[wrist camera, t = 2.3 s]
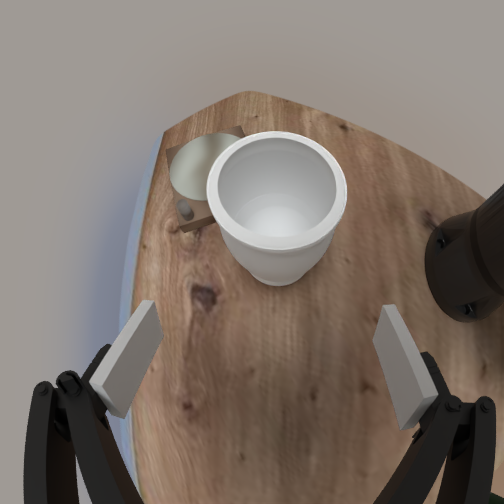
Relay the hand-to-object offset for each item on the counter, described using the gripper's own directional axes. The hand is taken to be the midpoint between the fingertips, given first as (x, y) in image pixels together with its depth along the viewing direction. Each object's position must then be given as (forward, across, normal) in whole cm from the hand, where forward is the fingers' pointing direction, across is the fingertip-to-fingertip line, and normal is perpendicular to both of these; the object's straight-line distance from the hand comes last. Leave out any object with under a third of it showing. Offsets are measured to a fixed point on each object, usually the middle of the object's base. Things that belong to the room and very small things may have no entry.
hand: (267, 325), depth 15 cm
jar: (+18, 0, -4) cm, 19 cm away
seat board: (+26, -8, +4) cm, 28 cm away
